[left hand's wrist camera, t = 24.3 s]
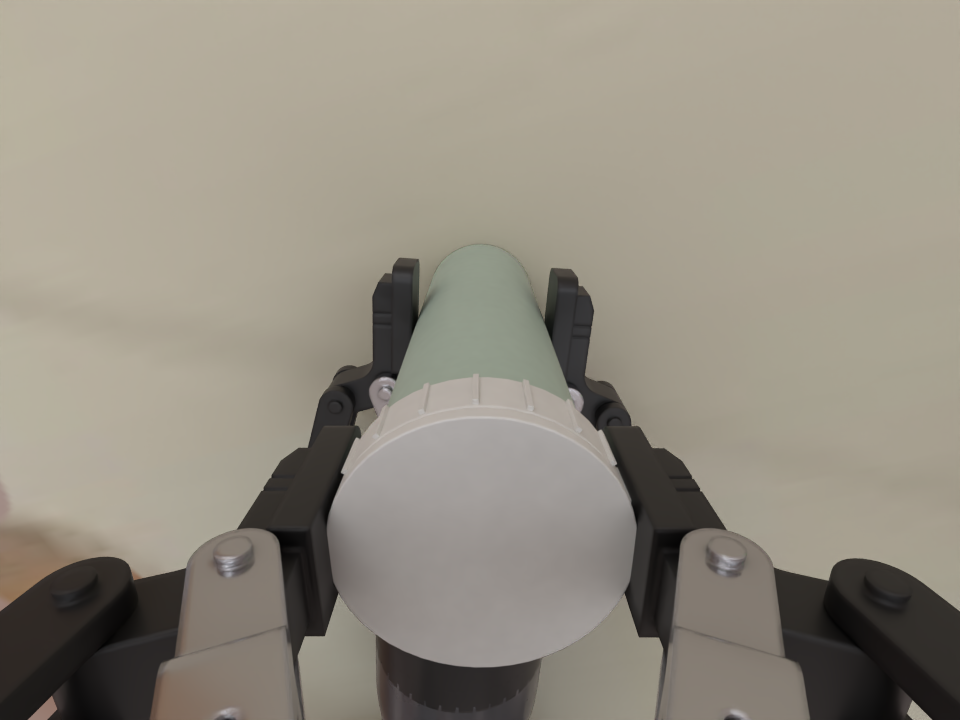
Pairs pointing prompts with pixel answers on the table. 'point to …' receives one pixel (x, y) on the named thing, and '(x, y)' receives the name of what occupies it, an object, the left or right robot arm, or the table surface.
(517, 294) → the jar
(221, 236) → the table surface
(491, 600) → the lid
